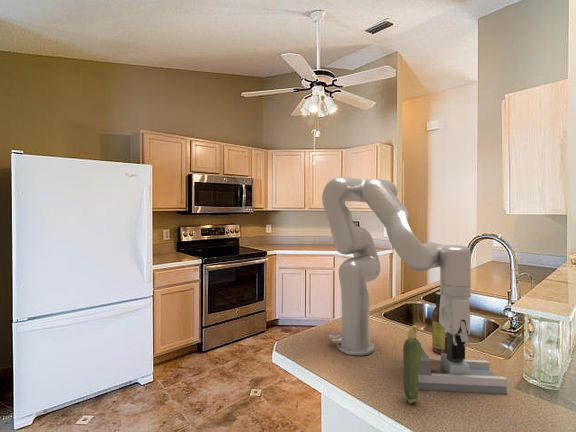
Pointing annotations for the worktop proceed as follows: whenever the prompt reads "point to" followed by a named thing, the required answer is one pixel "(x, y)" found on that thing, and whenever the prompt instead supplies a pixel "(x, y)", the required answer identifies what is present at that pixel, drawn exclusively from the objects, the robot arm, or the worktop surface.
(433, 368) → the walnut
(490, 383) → the vice bench
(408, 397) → the vegetable
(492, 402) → the worktop surface
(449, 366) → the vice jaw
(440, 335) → the sauce bottle
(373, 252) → the robot arm
